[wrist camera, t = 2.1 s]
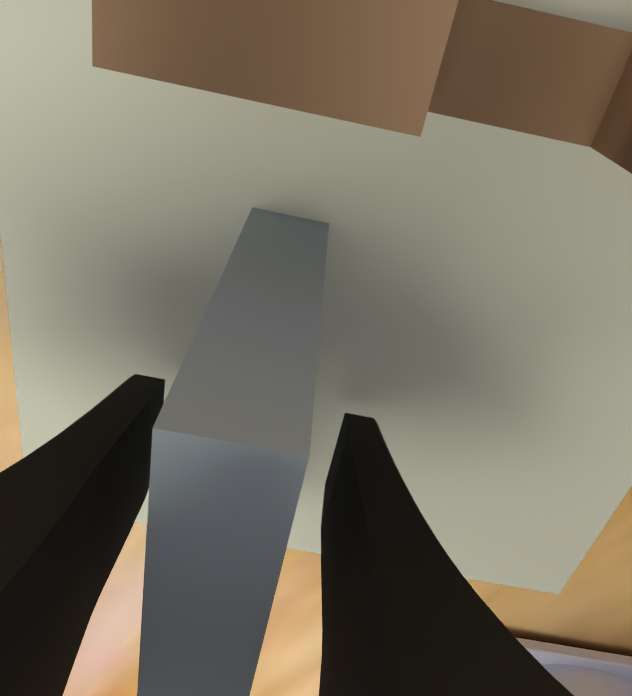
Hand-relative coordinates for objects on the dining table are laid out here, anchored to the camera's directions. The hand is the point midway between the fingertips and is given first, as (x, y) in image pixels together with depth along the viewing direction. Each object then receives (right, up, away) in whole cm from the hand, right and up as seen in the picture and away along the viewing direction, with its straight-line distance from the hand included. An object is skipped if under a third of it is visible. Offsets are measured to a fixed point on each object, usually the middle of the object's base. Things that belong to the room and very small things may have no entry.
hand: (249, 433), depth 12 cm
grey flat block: (0, +1, +2) cm, 2 cm away
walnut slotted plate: (+5, +7, -2) cm, 8 cm away
